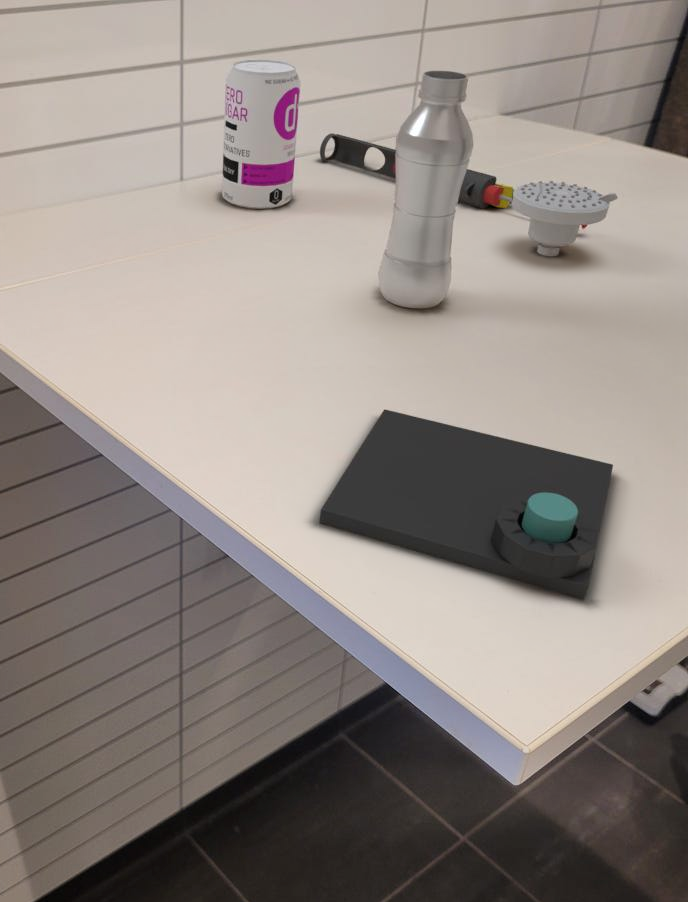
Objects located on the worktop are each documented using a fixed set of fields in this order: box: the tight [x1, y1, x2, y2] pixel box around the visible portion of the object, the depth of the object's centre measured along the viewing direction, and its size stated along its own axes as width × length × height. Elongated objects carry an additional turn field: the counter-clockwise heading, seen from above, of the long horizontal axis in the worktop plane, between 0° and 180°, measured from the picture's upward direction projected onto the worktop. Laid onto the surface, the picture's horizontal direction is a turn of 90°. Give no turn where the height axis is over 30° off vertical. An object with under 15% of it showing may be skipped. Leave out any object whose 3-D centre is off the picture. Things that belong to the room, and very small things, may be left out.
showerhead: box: [511, 180, 619, 257], centre depth 97 cm, size 9×7×10 cm
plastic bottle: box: [377, 70, 474, 309], centre depth 83 cm, size 6×7×20 cm
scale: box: [318, 408, 614, 601], centre depth 61 cm, size 16×14×3 cm
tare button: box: [522, 493, 578, 543], centre depth 55 cm, size 3×3×2 cm
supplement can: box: [221, 59, 301, 210], centre depth 107 cm, size 8×8×15 cm
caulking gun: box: [319, 132, 589, 230], centre depth 115 cm, size 4×37×10 cm
